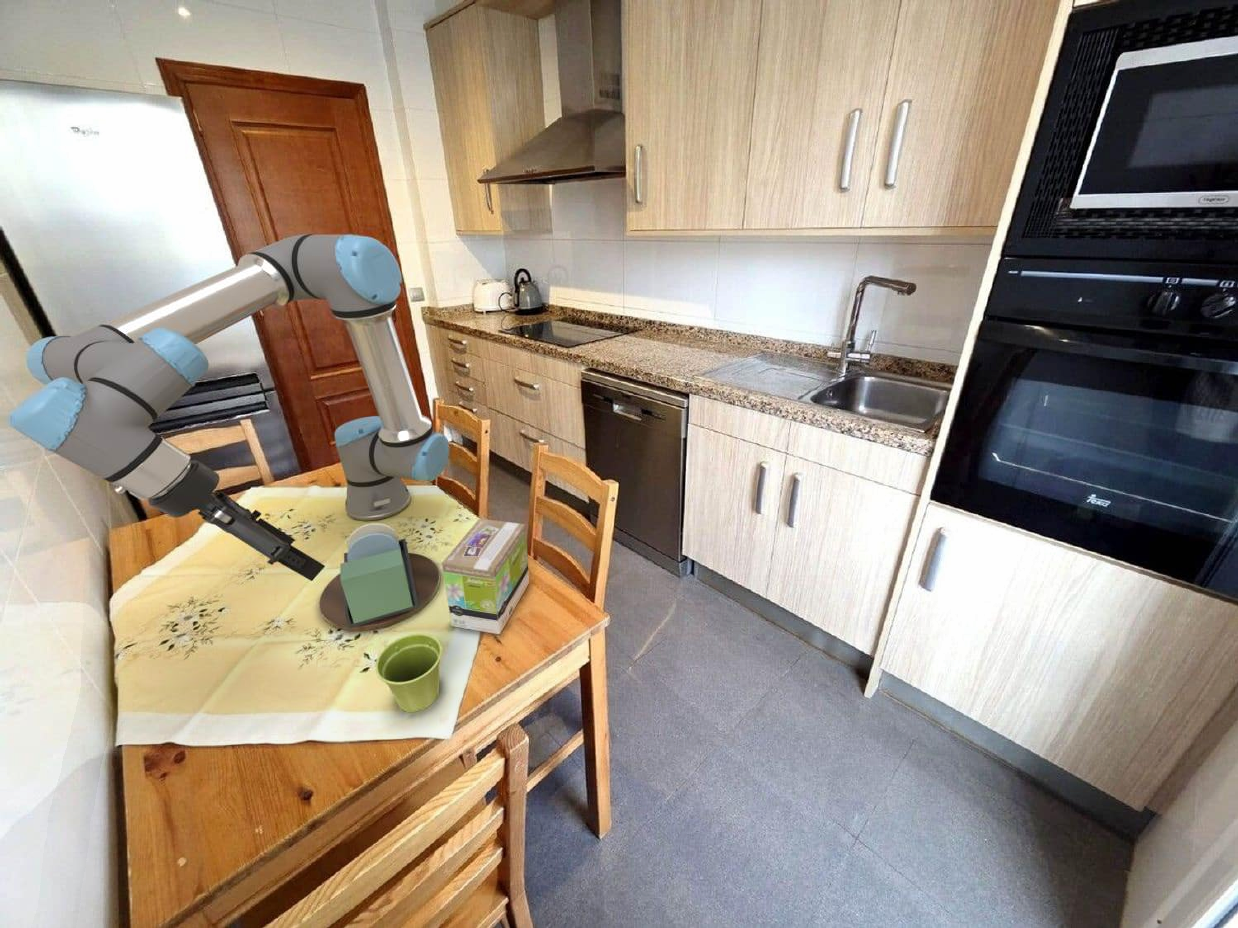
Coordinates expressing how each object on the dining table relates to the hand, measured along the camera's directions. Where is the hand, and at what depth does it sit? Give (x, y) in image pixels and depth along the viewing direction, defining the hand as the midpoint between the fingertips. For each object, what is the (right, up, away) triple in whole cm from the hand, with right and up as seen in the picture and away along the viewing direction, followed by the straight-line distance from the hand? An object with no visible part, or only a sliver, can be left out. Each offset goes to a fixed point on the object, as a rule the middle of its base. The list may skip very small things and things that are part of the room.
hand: (302, 558), depth 81 cm
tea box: (+27, -12, +17) cm, 34 cm away
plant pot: (+19, -22, -2) cm, 29 cm away
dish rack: (+3, -9, +19) cm, 22 cm away
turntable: (+3, -10, +20) cm, 23 cm away
